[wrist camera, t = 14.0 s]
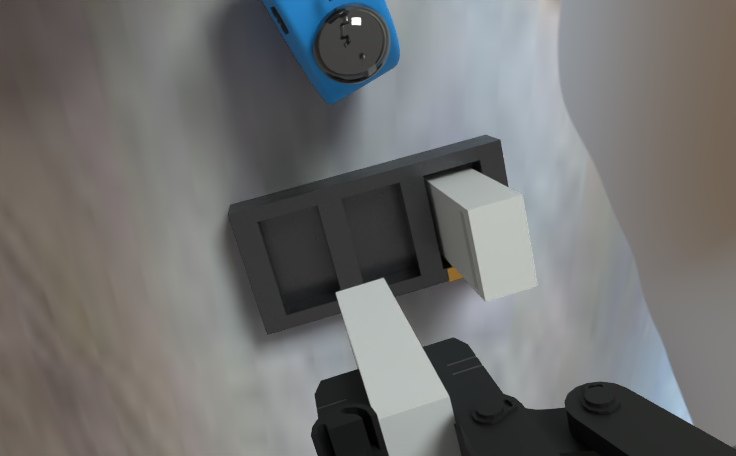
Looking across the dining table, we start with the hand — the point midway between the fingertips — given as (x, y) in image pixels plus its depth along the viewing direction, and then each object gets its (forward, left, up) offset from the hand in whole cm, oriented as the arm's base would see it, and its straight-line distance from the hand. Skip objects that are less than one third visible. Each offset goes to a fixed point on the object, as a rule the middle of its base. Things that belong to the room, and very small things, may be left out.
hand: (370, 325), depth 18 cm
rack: (+8, +5, -34) cm, 35 cm away
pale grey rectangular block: (+8, +12, -33) cm, 36 cm away
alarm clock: (-11, +4, -34) cm, 36 cm away
